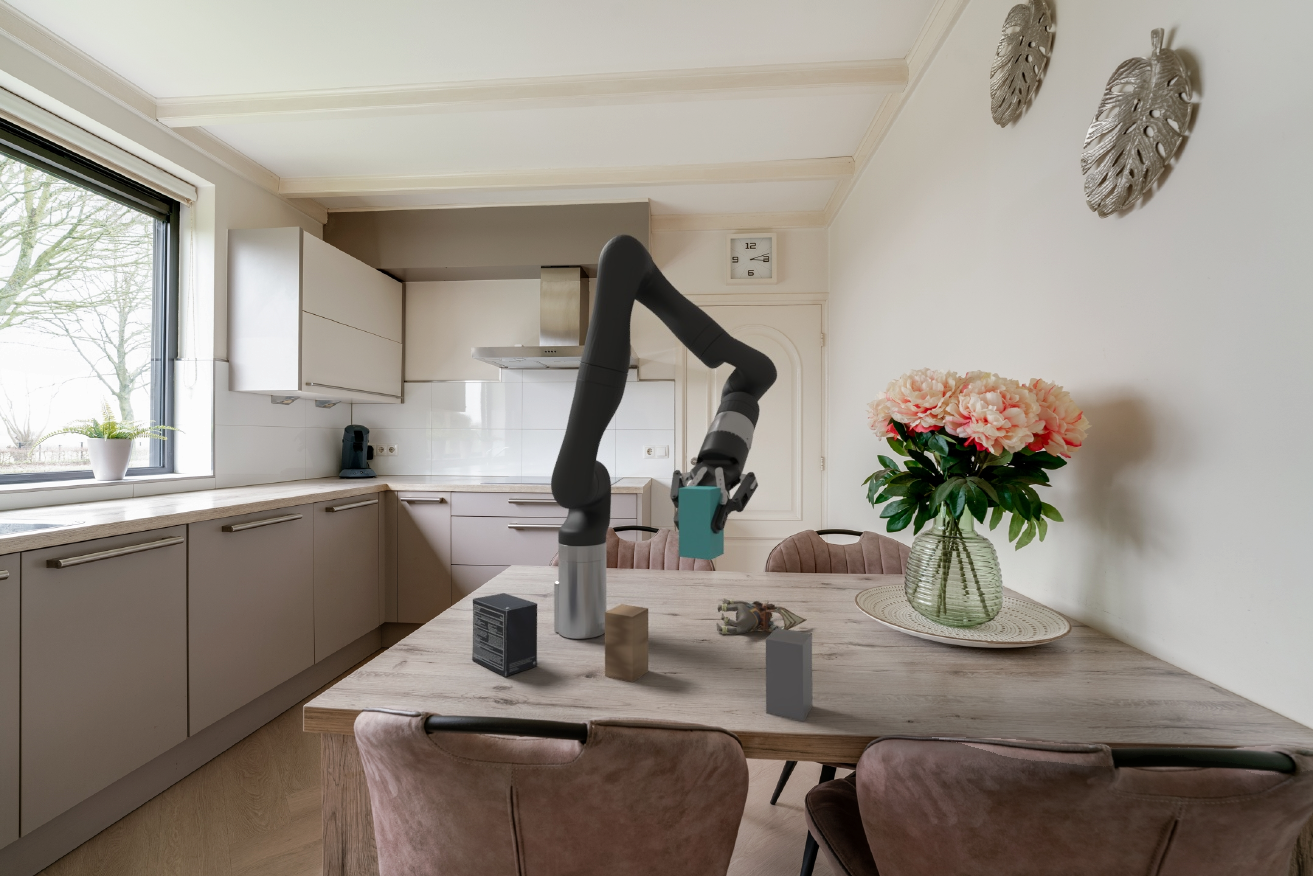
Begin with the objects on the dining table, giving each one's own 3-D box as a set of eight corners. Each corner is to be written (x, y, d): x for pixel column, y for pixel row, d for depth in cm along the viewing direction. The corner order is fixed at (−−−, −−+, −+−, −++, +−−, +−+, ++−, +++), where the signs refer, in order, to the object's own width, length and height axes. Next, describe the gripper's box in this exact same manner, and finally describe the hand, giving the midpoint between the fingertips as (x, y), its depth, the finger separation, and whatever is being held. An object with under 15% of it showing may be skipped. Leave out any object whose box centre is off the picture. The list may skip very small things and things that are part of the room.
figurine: (725, 588, 123) (806, 594, 119) (725, 617, 123) (806, 623, 119) (711, 608, 104) (807, 616, 100) (711, 642, 103) (807, 651, 99)
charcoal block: (766, 713, 77) (765, 638, 77) (776, 698, 81) (776, 628, 81) (803, 721, 75) (802, 645, 75) (812, 706, 79) (811, 633, 79)
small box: (540, 666, 93) (540, 602, 94) (505, 678, 89) (505, 610, 89) (504, 650, 101) (504, 590, 101) (470, 661, 96) (470, 598, 96)
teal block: (678, 556, 83) (678, 488, 83) (693, 550, 88) (693, 485, 88) (710, 560, 81) (710, 489, 81) (723, 553, 85) (723, 486, 85)
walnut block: (605, 676, 89) (604, 612, 89) (621, 665, 94) (621, 604, 94) (632, 682, 87) (632, 616, 87) (648, 670, 91) (648, 608, 91)
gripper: (680, 429, 94) (644, 509, 84) (764, 428, 88) (736, 515, 77) (693, 460, 99) (661, 540, 89) (774, 461, 92) (749, 548, 82)
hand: (696, 528), depth 83 cm, fingers closed on teal block, 5 cm apart
